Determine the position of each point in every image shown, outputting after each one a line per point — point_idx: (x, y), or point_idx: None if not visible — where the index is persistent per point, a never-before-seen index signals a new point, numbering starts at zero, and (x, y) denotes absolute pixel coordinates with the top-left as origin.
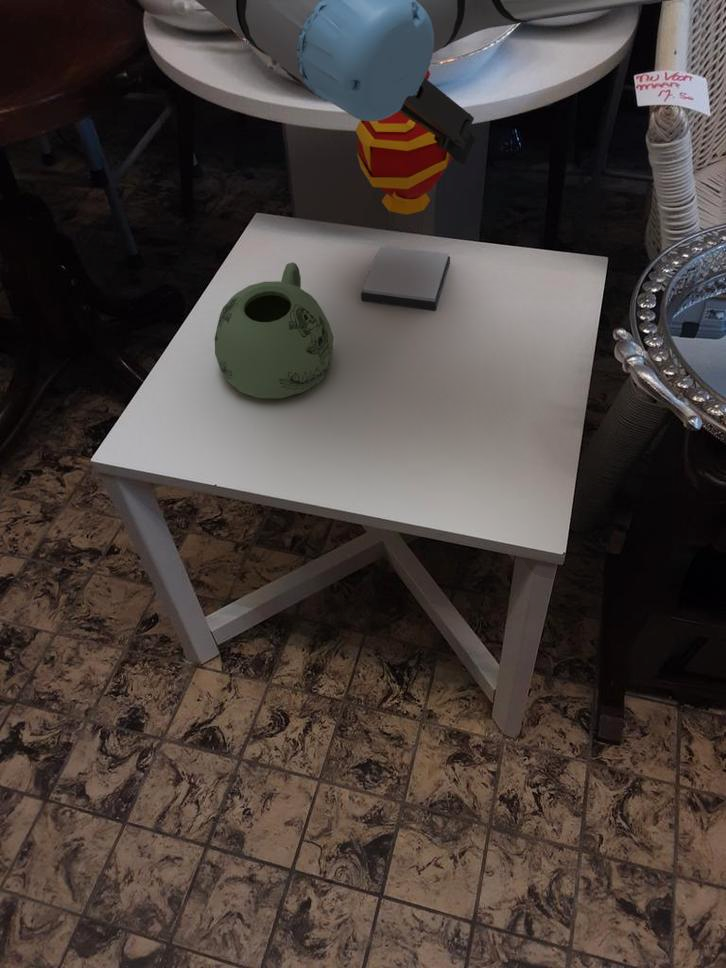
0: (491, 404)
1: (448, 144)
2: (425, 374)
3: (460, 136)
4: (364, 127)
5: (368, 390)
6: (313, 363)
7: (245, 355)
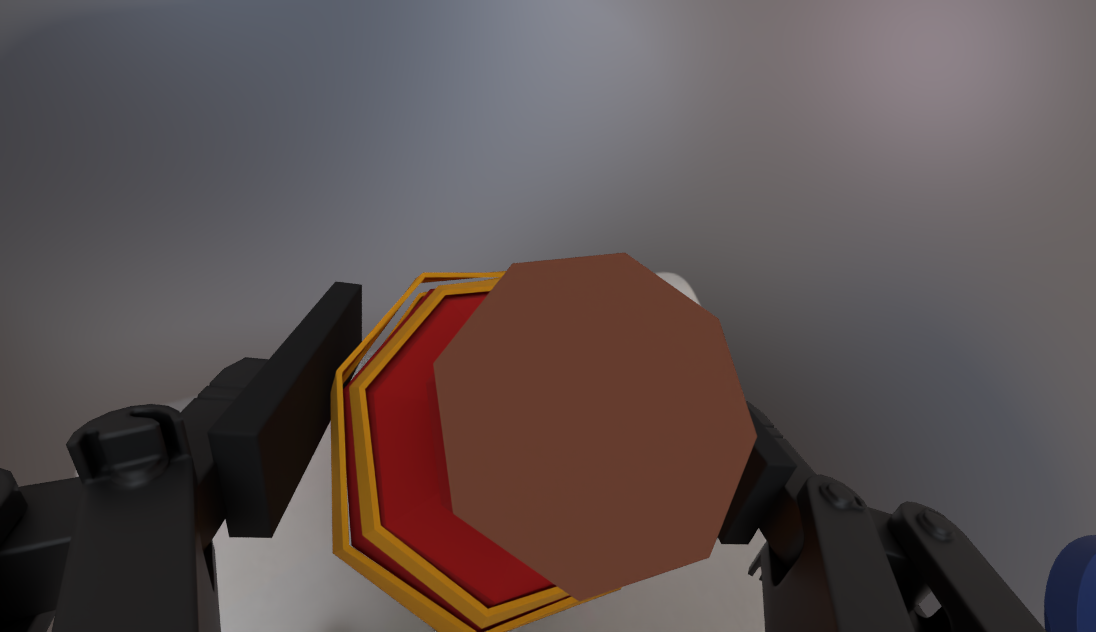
0: (724, 612)
1: None
2: (617, 622)
3: (920, 611)
4: (391, 582)
5: None
6: None
7: None
